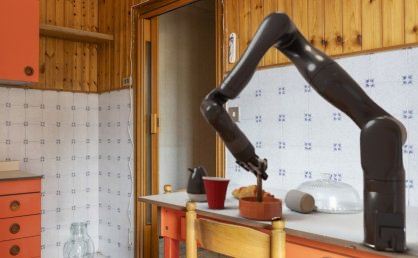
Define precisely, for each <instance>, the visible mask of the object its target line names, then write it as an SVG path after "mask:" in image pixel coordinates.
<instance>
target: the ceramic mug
mask: <svg viewBox="0 0 418 258" xmlns="http://www.w3.org/2000/svg"><path fill="white" fill-rule="evenodd" d="M284 204H285V207H286V208H287V209H288V210H291V211H294V212H299V213H303V214H309V213H311V212H312V211H314V212H317V210H318V206H317V205H316V200H315V197H314V196H313V195H312V194H310V193H308V192H304V191H301V190H298V189H290V190H288V191H287V192H286V194H285V197H284Z"/></svg>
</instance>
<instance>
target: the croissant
mask: <svg viewBox="0 0 418 258" xmlns="http://www.w3.org/2000/svg"><path fill="white" fill-rule="evenodd" d="M231 196H233V197H234V198H236V199H238V200H239V198H241V197H247V196H257V184H251V185H250V184H249V185H248V186H241V187H239V188H235V189H234V190H233V191H231ZM262 196H264V197H273V198H275V195H274V194H271V193H270V192H268V191H266V190H265V189H263V188H262Z"/></svg>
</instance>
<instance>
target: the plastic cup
mask: <svg viewBox="0 0 418 258" xmlns="http://www.w3.org/2000/svg"><path fill="white" fill-rule="evenodd" d="M203 180H204V185H205V190H206V196H207V200H206V201H207V206H208V209H210V210H223V209H224V208H225V203H226V198H227V192H228V187H229V184H230V181H231V178H226V177H217V176H208V177H203Z"/></svg>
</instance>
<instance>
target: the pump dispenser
mask: <svg viewBox="0 0 418 258" xmlns="http://www.w3.org/2000/svg"><path fill="white" fill-rule="evenodd" d="M187 171H188V172H189V176H188V179H187V183H186V189H185V191H186V194H187V197H188V199H189V200H190V201H191V202H194V203H204V202H206V201H207V196H206V190H205V185H204V180H203V177H209V176H208V172H207V171H206V169H205V168H204V166H202V165H194V166H193V167H192V168H191V167H187Z"/></svg>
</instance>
